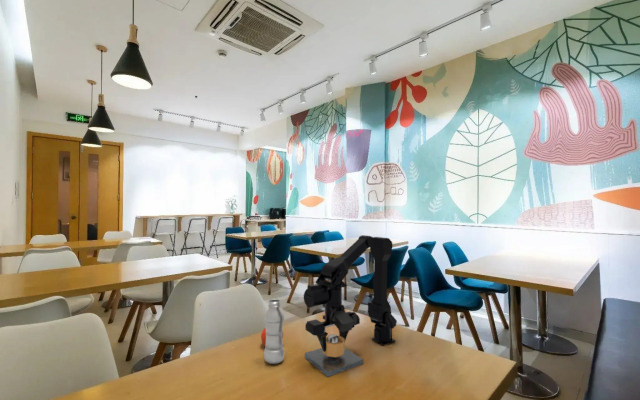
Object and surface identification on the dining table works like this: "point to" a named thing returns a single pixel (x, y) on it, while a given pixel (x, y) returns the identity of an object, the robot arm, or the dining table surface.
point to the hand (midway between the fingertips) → (333, 348)
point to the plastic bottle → (274, 333)
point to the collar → (335, 347)
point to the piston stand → (333, 360)
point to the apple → (263, 336)
